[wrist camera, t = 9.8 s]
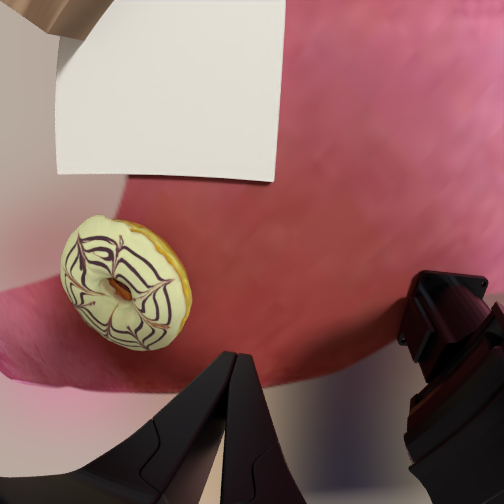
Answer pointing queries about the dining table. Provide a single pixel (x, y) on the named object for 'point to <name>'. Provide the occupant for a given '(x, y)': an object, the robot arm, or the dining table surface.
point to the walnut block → (62, 15)
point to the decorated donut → (126, 283)
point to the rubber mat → (173, 90)
